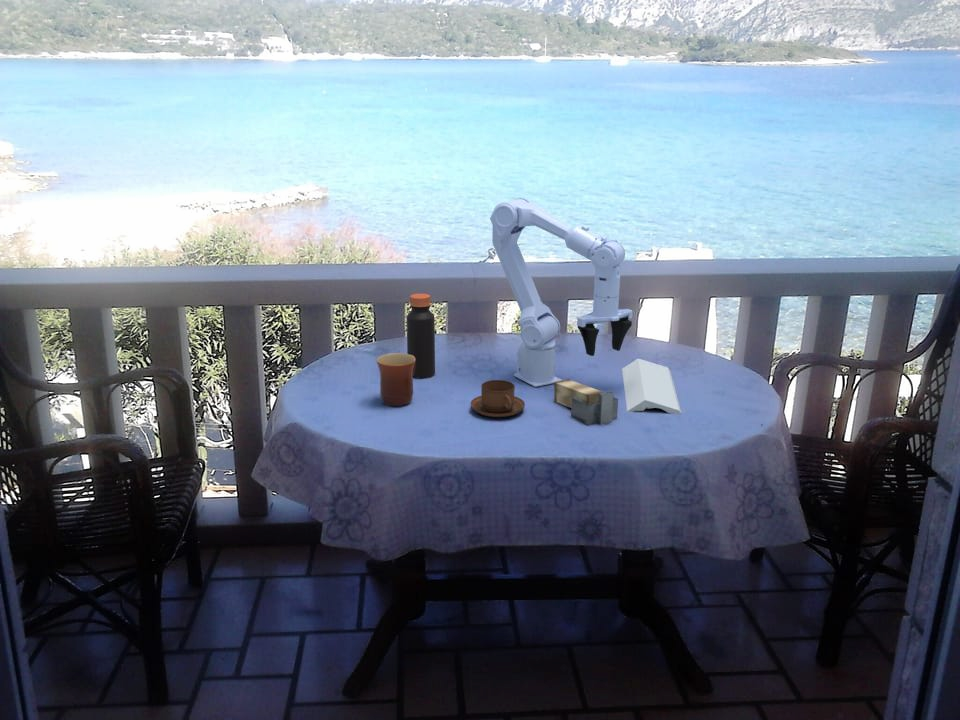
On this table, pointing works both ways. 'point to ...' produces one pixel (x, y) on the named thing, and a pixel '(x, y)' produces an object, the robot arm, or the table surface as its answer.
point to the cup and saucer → (497, 399)
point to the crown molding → (649, 387)
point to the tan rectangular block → (574, 392)
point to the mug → (396, 378)
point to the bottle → (421, 335)
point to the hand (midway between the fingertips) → (603, 352)
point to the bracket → (595, 409)
